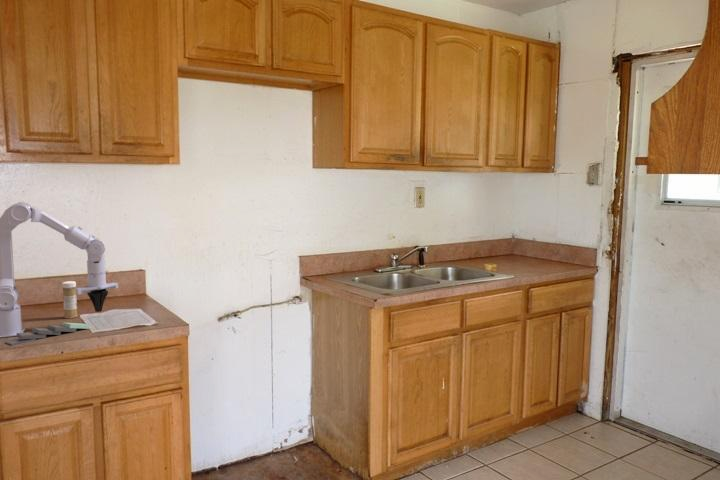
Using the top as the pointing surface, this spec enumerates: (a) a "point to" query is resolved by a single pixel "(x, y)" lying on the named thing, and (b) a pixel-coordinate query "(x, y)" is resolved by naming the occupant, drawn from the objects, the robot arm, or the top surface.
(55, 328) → the domino
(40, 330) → the domino
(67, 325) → the green domino
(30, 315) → the top surface
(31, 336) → the domino
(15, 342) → the domino
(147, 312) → the top surface
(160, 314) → the top surface
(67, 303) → the sprinkles bottle
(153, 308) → the top surface
